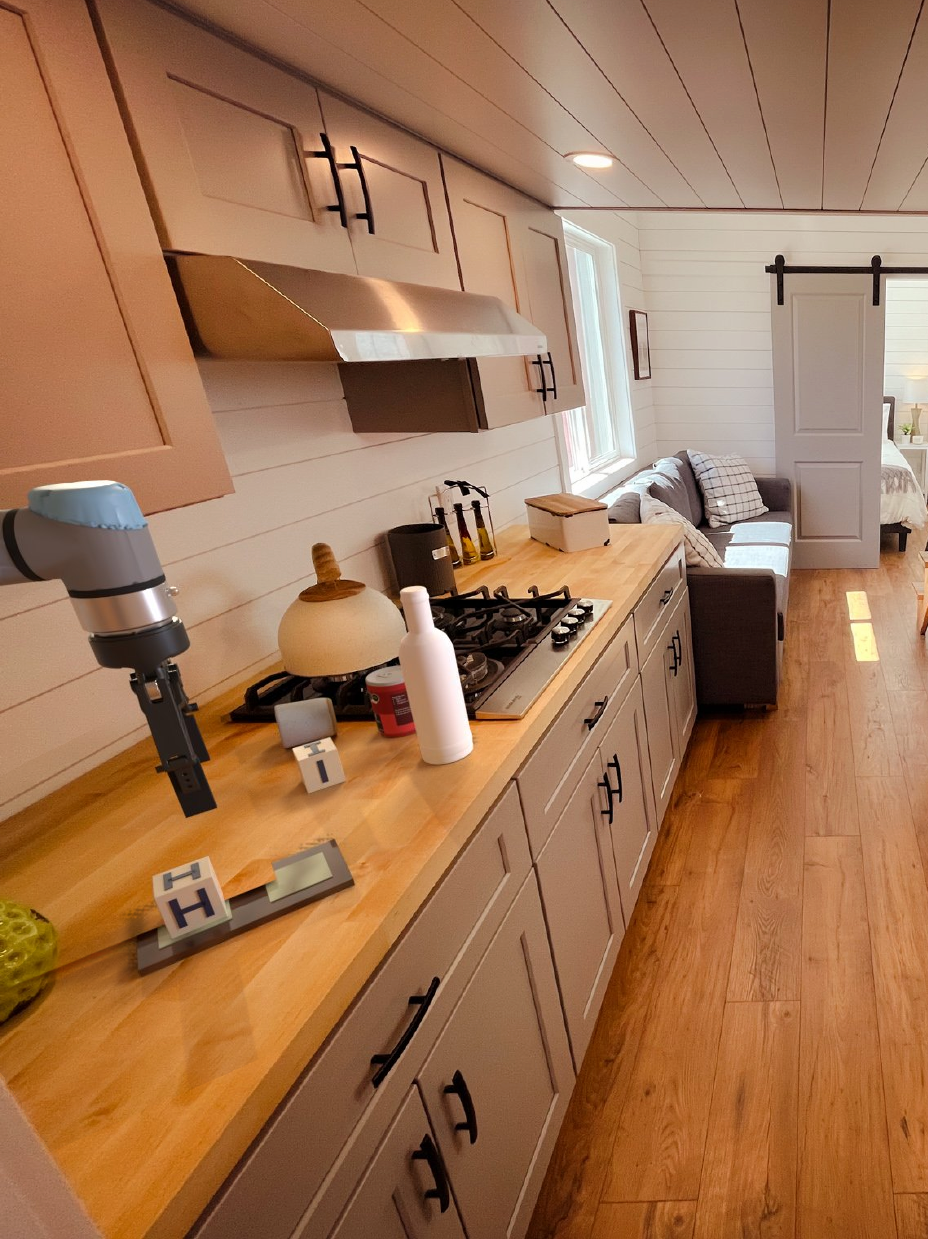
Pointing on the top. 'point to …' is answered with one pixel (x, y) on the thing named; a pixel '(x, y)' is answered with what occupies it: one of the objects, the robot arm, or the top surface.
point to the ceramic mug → (305, 721)
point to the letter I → (319, 765)
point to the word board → (253, 906)
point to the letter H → (189, 897)
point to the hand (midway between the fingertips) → (199, 786)
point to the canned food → (390, 702)
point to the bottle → (432, 683)
